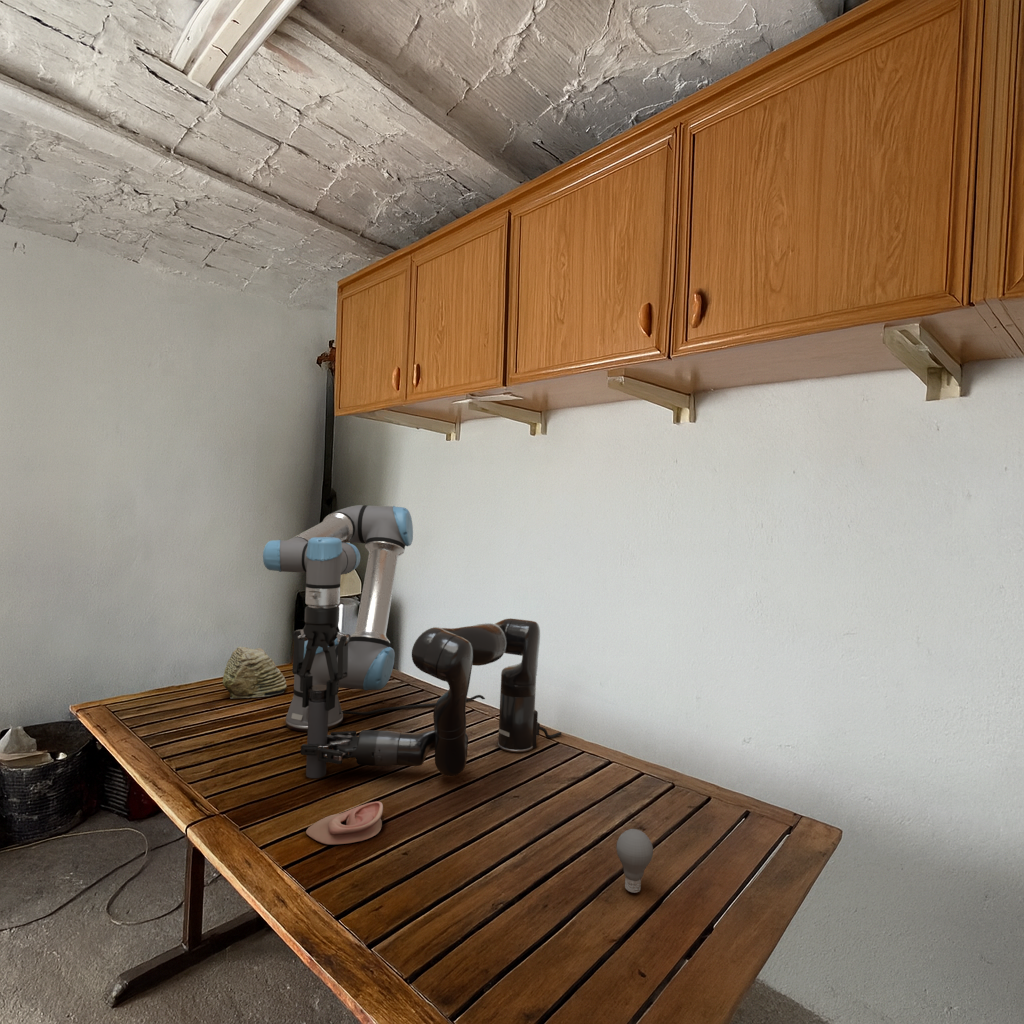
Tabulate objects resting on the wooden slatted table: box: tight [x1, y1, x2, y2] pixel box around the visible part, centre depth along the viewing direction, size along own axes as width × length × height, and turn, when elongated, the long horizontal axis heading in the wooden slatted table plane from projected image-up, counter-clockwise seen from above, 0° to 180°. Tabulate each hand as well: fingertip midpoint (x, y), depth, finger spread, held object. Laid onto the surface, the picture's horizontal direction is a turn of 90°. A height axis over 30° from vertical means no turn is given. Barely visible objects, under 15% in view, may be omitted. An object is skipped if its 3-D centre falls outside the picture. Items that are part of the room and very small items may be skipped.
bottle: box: [305, 699, 329, 779], centre depth 144 cm, size 4×4×19 cm
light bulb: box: [615, 828, 654, 894], centre depth 106 cm, size 6×6×10 cm
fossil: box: [222, 646, 288, 699], centre depth 198 cm, size 9×18×15 cm, turn 132°
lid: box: [308, 685, 327, 700], centre depth 144 cm, size 5×5×2 cm
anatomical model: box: [305, 800, 384, 846], centre depth 121 cm, size 13×4×12 cm
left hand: (318, 707), depth 144 cm, fingers open, 5 cm apart
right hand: (305, 745), depth 144 cm, fingers closed on bottle, 4 cm apart
